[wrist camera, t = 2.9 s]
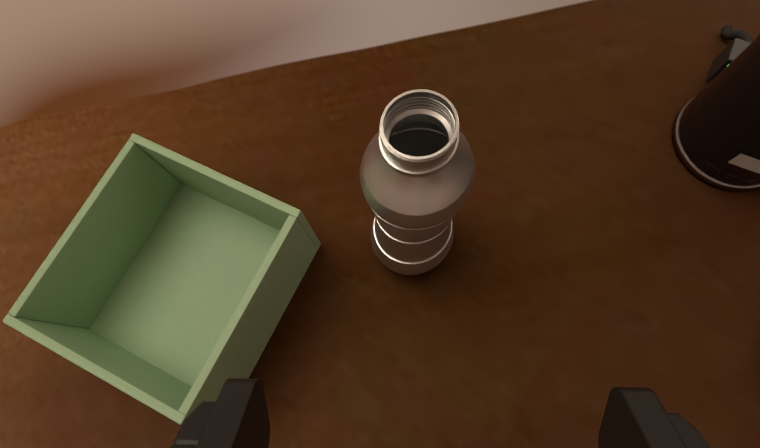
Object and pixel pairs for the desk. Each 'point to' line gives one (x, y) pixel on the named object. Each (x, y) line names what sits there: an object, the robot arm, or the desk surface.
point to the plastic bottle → (416, 181)
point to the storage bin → (167, 279)
